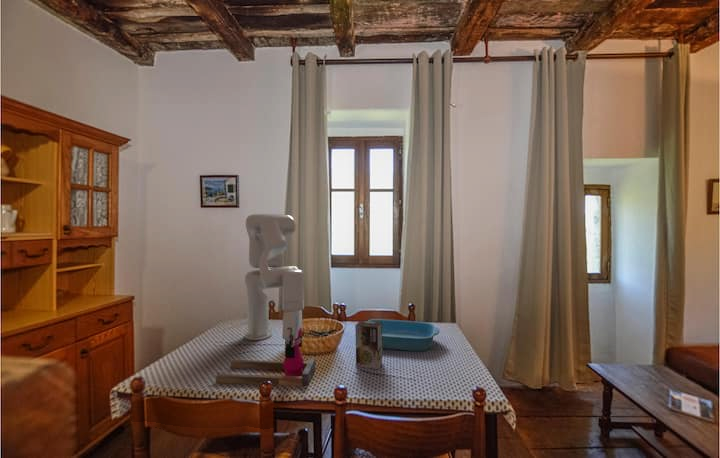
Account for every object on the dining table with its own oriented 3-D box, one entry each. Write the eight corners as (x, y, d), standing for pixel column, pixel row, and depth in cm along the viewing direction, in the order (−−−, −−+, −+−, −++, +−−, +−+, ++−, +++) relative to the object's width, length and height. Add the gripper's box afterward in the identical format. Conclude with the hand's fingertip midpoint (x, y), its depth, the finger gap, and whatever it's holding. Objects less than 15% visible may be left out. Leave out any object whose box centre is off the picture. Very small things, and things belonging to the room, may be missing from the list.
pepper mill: (299, 381, 117) (298, 324, 116) (280, 379, 118) (279, 323, 117) (306, 372, 124) (306, 318, 123) (288, 370, 125) (287, 317, 124)
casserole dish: (351, 347, 147) (351, 331, 147) (364, 330, 169) (364, 316, 168) (438, 356, 138) (438, 339, 137) (440, 337, 159) (440, 322, 159)
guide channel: (232, 366, 129) (232, 355, 129) (315, 368, 127) (315, 357, 127) (216, 383, 116) (215, 371, 116) (308, 385, 114) (307, 374, 114)
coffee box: (382, 362, 132) (382, 321, 131) (378, 369, 126) (378, 327, 125) (360, 359, 135) (360, 319, 134) (355, 366, 128) (355, 324, 128)
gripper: (289, 298, 129) (289, 342, 129) (275, 311, 111) (275, 362, 112) (308, 298, 128) (309, 343, 129) (297, 311, 111) (298, 362, 112)
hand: (293, 351), depth 120 cm, fingers open, 9 cm apart
